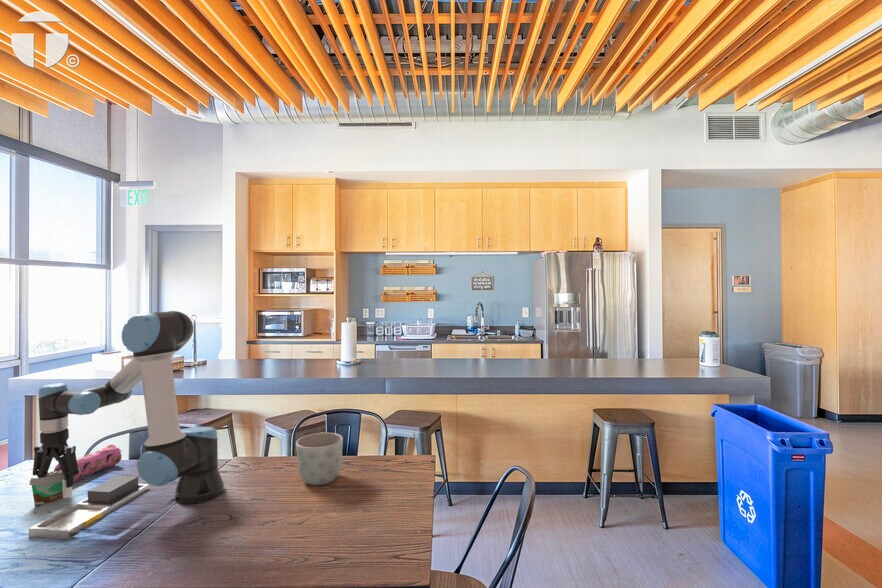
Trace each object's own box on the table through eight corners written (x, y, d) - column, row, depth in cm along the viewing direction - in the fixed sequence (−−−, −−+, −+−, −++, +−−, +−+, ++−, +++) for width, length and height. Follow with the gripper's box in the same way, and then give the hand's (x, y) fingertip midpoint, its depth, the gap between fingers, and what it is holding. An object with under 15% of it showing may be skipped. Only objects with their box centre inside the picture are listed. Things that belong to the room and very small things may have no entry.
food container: (45, 510, 151) (44, 480, 151) (30, 508, 152) (29, 478, 152) (81, 493, 163) (80, 465, 163) (67, 492, 164) (66, 464, 164)
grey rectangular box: (138, 490, 162) (138, 476, 162) (109, 507, 151) (109, 492, 150) (118, 489, 163) (117, 475, 163) (88, 505, 152) (87, 490, 151)
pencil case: (70, 488, 168) (69, 464, 168) (51, 485, 170) (50, 461, 170) (124, 465, 189) (124, 444, 188) (106, 463, 191) (106, 442, 191)
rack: (150, 491, 164) (150, 483, 164) (70, 539, 133) (69, 530, 133) (116, 489, 166) (116, 482, 166) (29, 536, 135) (28, 527, 135)
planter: (353, 477, 174) (352, 437, 174) (319, 494, 160) (318, 451, 160) (321, 467, 183) (320, 429, 183) (286, 483, 169) (285, 442, 169)
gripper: (91, 427, 159) (93, 492, 160) (38, 425, 162) (40, 489, 163) (71, 434, 152) (73, 502, 152) (16, 432, 155) (18, 499, 155)
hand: (56, 495), depth 158 cm, fingers open, 8 cm apart
